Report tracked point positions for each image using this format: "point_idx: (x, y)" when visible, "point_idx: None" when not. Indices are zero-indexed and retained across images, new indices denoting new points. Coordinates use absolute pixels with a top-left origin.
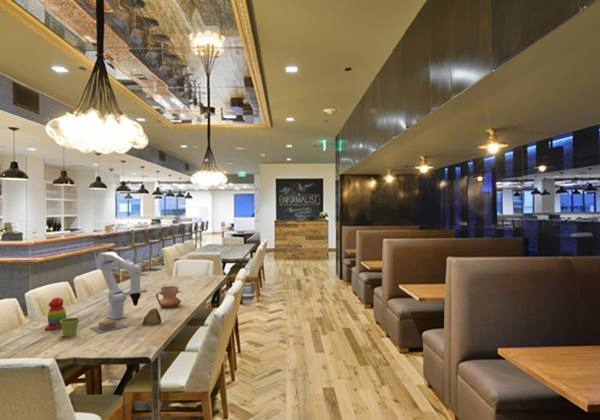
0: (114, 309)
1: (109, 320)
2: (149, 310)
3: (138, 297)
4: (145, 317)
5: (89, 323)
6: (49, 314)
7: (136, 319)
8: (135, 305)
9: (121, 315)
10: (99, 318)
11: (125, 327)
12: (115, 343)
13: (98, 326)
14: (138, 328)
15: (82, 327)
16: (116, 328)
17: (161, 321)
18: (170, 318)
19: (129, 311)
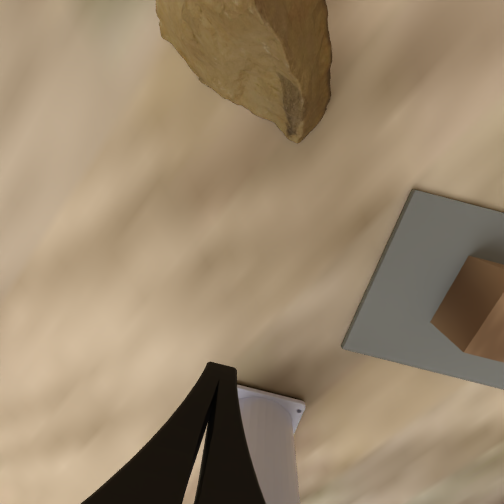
0: (297, 486)
1: (490, 345)
2: (255, 7)
3: (149, 480)
4: (322, 60)
5: (412, 457)
6: None
7: (229, 288)
8: (229, 367)
9: (254, 407)
10: (314, 476)
11: (430, 194)
12: None
13: (472, 372)
14: (423, 52)
15: (494, 436)
16: (494, 224)
17: (162, 25)
18: (47, 34)
19: (137, 444)
